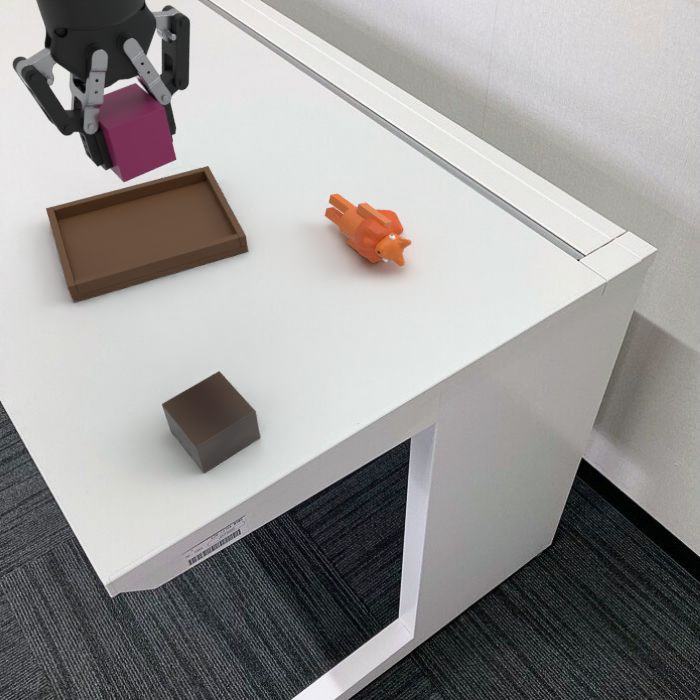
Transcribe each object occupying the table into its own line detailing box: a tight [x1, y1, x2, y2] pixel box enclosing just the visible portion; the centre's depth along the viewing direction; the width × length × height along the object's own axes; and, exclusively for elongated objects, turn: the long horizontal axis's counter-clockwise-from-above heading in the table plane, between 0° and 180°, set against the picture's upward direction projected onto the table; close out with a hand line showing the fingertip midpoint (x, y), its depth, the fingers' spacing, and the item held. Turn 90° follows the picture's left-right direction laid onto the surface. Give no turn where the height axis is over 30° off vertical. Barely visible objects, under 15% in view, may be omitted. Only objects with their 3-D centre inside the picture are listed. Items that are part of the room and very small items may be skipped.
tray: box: [45, 165, 249, 304], centre depth 87 cm, size 20×15×2 cm
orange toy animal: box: [324, 193, 412, 267], centre depth 85 cm, size 5×8×12 cm
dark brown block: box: [161, 370, 262, 474], centre depth 68 cm, size 6×6×4 cm
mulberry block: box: [99, 82, 177, 183], centre depth 64 cm, size 5×5×5 cm
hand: (134, 151), depth 65 cm, fingers closed on mulberry block, 5 cm apart
